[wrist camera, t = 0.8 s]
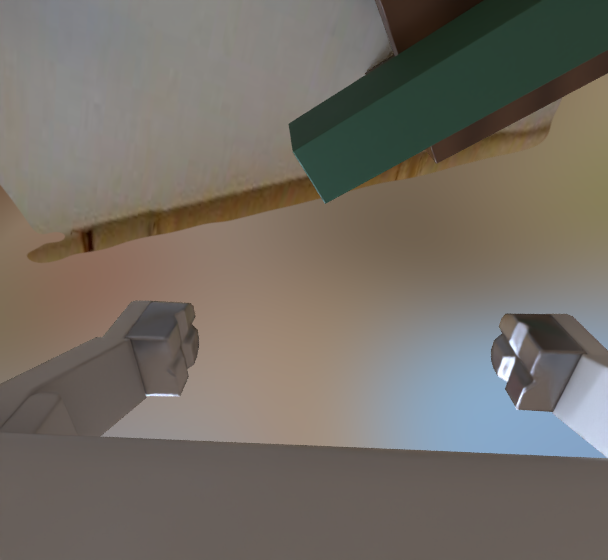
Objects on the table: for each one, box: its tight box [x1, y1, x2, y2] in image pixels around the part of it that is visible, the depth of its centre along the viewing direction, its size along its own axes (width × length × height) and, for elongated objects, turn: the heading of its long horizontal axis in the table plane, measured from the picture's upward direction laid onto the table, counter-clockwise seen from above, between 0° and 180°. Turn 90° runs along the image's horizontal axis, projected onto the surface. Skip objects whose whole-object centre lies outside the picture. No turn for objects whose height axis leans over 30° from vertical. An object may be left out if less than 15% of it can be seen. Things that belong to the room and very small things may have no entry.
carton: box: [289, 0, 608, 204], centre depth 23 cm, size 22×4×5 cm, turn 120°
